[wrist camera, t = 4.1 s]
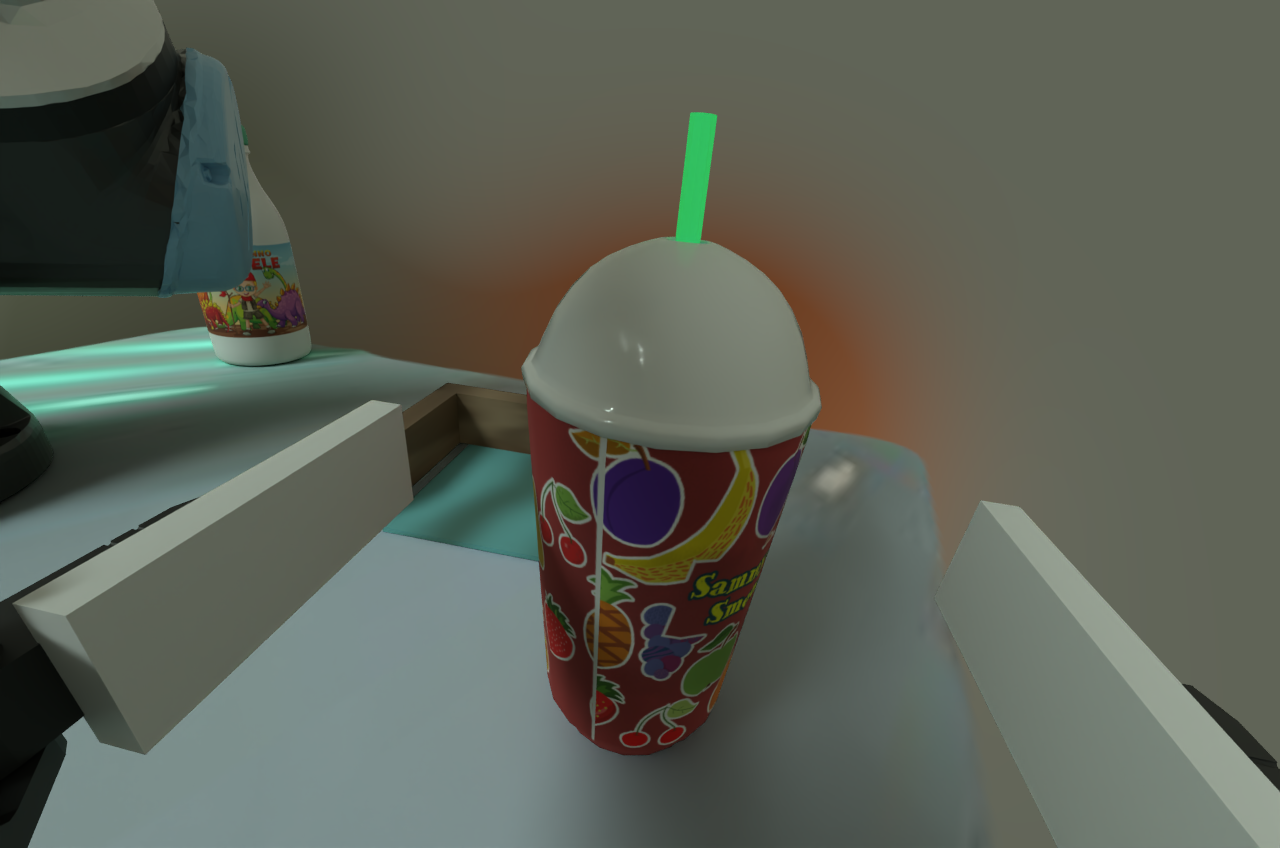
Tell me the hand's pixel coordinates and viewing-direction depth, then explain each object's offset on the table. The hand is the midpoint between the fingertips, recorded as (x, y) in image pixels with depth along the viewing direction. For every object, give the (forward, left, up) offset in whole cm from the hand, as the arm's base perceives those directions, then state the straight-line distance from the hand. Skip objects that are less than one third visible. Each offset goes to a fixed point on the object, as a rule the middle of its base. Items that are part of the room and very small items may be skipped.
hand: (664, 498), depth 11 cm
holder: (-12, +14, -12) cm, 22 cm away
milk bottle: (-45, +27, -12) cm, 54 cm away
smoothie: (-1, +4, -12) cm, 13 cm away
